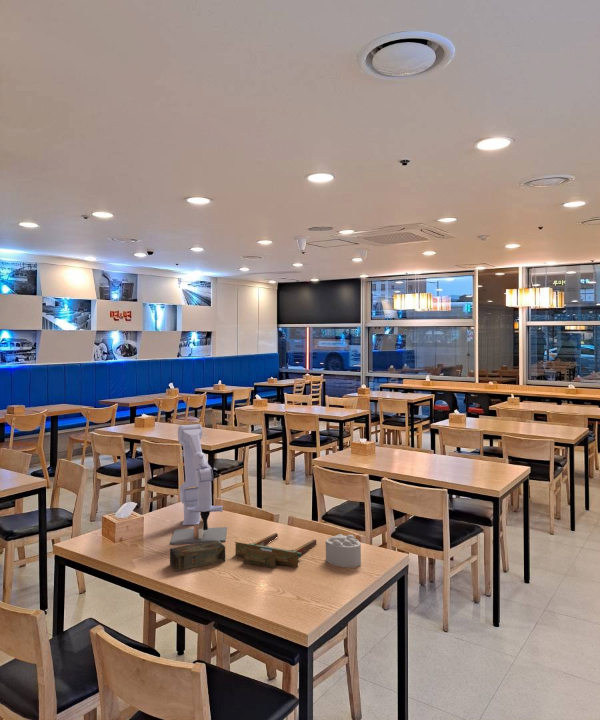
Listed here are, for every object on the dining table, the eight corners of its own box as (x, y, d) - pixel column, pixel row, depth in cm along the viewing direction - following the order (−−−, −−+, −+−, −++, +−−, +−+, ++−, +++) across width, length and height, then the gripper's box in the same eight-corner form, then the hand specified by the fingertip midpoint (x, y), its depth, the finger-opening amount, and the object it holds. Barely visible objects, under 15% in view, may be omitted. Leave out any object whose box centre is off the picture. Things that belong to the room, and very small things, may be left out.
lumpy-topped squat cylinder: (341, 552, 205) (341, 529, 205) (368, 562, 195) (367, 538, 195) (322, 560, 198) (321, 536, 198) (348, 570, 188) (348, 545, 188)
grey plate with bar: (175, 531, 232) (174, 515, 232) (227, 528, 234) (226, 513, 234) (169, 544, 217) (169, 527, 216) (225, 541, 219) (225, 525, 218)
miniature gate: (325, 537, 212) (288, 558, 186) (325, 551, 212) (288, 574, 186) (266, 527, 225) (224, 546, 198) (266, 541, 225) (223, 561, 198)
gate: (201, 528, 232) (201, 516, 232) (205, 528, 233) (205, 516, 232) (197, 539, 219) (197, 526, 219) (202, 538, 219) (202, 526, 219)
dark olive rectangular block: (226, 562, 198) (226, 544, 198) (174, 573, 189) (173, 554, 189) (219, 555, 205) (219, 537, 205) (168, 565, 196) (168, 547, 196)
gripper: (185, 500, 222) (186, 533, 222) (221, 498, 223) (222, 531, 223) (187, 495, 229) (188, 528, 229) (222, 494, 230) (223, 526, 230)
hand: (205, 529), depth 226 cm, fingers closed
